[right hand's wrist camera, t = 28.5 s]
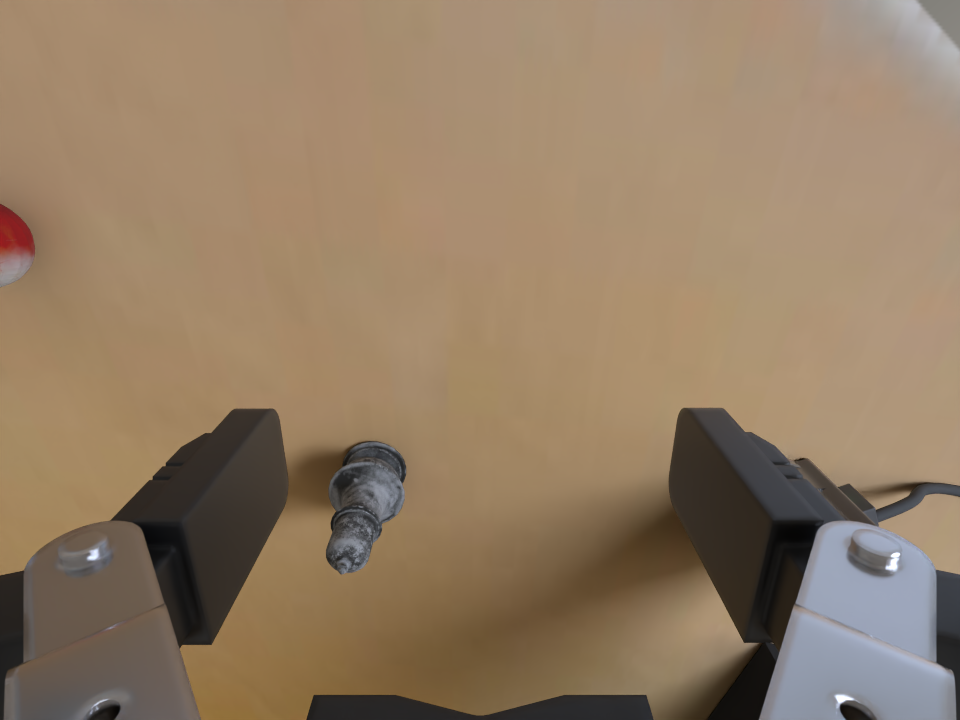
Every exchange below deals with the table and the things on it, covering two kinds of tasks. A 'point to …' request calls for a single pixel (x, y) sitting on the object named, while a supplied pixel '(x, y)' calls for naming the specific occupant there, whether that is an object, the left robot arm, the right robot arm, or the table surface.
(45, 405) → the table surface
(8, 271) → the eyeball
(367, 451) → the grey tall turned piece
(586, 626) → the table surface
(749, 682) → the cardboard box
